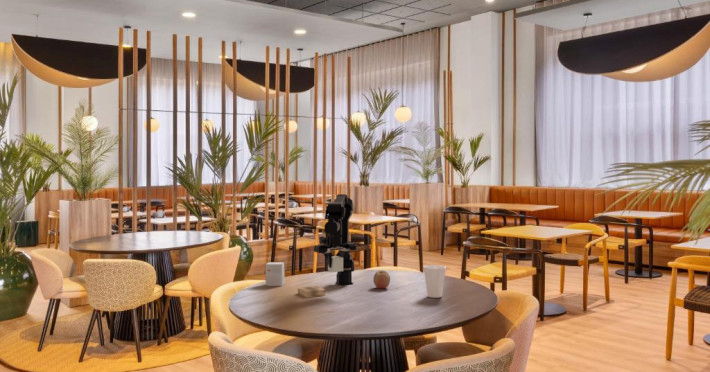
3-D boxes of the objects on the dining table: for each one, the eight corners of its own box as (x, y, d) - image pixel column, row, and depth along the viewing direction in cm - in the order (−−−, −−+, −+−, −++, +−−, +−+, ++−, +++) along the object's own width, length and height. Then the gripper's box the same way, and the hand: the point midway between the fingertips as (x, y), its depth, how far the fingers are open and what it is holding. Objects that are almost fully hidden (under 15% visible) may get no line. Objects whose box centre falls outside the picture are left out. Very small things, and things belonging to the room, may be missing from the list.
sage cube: (337, 269, 262) (337, 256, 261) (343, 271, 257) (343, 257, 257) (327, 270, 259) (327, 256, 259) (333, 272, 255) (333, 258, 255)
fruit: (370, 289, 269) (370, 271, 269) (376, 286, 277) (376, 269, 276) (387, 290, 266) (387, 273, 266) (392, 287, 274) (392, 270, 274)
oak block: (316, 292, 265) (316, 285, 265) (325, 296, 257) (325, 289, 257) (297, 294, 260) (297, 287, 260) (306, 298, 252) (306, 291, 252)
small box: (284, 284, 282) (284, 262, 282) (282, 286, 277) (281, 264, 277) (268, 283, 283) (268, 262, 283) (265, 286, 278) (265, 263, 277)
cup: (449, 295, 255) (449, 265, 255) (442, 300, 246) (442, 269, 246) (427, 293, 259) (427, 264, 259) (419, 298, 250) (419, 267, 250)
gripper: (344, 229, 269) (345, 262, 270) (308, 231, 260) (308, 266, 260) (357, 231, 260) (357, 266, 260) (319, 233, 250) (319, 270, 251)
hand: (335, 267), depth 258 cm, fingers closed on sage cube, 5 cm apart
